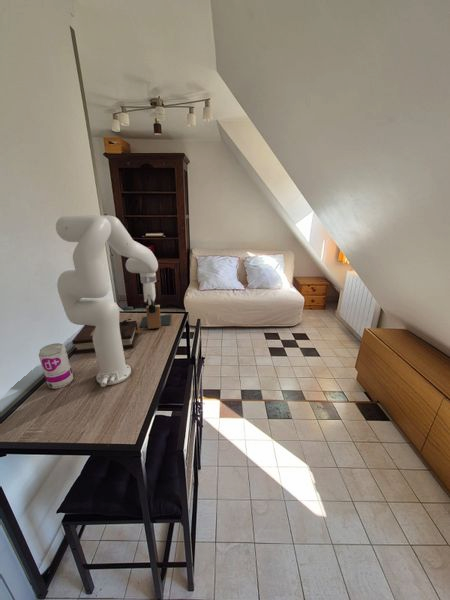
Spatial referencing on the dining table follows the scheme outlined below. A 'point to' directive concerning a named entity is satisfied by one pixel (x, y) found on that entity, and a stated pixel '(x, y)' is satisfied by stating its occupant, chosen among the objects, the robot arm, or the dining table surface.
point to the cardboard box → (154, 318)
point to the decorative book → (86, 333)
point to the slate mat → (164, 321)
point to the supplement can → (56, 365)
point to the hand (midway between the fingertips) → (152, 312)
